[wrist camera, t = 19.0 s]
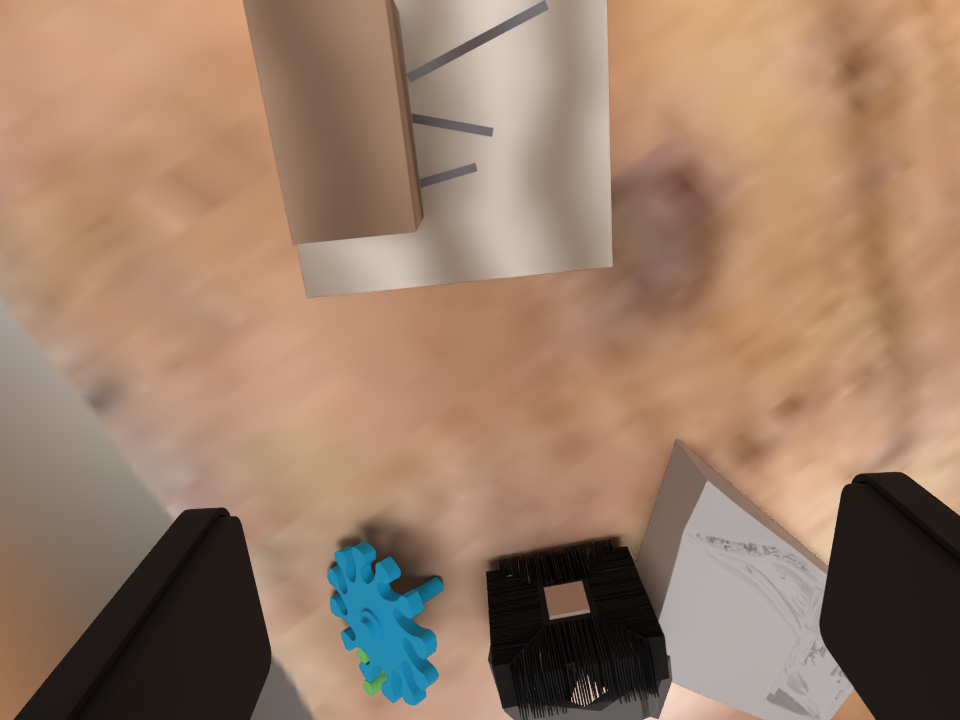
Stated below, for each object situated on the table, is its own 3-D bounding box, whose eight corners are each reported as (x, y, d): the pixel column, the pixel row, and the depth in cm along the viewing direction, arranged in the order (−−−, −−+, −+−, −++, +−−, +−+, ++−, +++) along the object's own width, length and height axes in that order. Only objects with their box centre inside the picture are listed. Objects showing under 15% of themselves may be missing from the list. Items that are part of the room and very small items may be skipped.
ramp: (909, 674, 44) (967, 742, 39) (716, 755, 47) (747, 829, 42) (780, 378, 36) (833, 417, 31) (551, 495, 38) (566, 549, 33)
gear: (325, 518, 36) (433, 636, 30) (402, 484, 40) (509, 582, 34) (312, 637, 41) (402, 757, 35) (381, 596, 45) (471, 697, 39)
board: (594, -86, 27) (604, -104, 25) (603, 259, 32) (612, 267, 31) (249, -50, 27) (232, -65, 25) (315, 289, 33) (306, 298, 31)
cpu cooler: (491, 622, 41) (501, 766, 31) (475, 556, 39) (480, 688, 29) (638, 595, 41) (693, 733, 31) (629, 527, 39) (685, 652, 29)
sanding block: (398, 10, 26) (381, -26, 21) (424, 215, 29) (415, 232, 24) (287, 22, 26) (240, -12, 21) (325, 226, 29) (292, 244, 24)
